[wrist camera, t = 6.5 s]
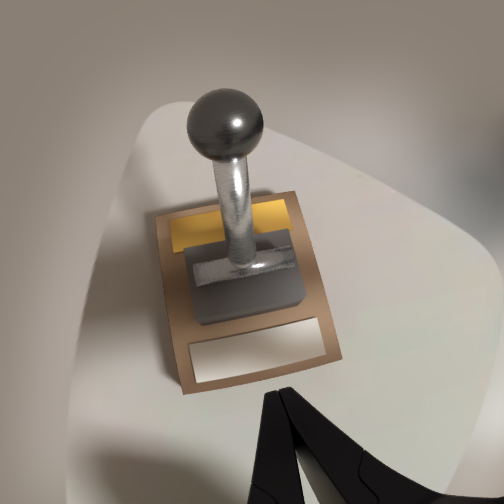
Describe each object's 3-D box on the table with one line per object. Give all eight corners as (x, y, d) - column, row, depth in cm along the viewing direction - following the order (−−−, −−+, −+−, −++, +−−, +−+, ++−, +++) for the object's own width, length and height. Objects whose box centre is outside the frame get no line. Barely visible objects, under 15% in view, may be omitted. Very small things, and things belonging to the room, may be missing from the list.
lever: (300, 284, 16) (296, 86, 10) (200, 305, 15) (151, 107, 9) (283, 249, 18) (274, 78, 12) (195, 266, 17) (158, 95, 12)
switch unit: (333, 359, 20) (359, 357, 16) (188, 391, 19) (172, 400, 14) (290, 204, 24) (301, 166, 19) (161, 228, 23) (144, 194, 18)
